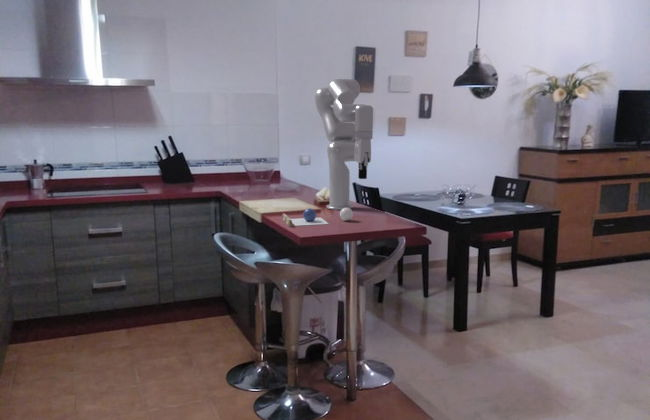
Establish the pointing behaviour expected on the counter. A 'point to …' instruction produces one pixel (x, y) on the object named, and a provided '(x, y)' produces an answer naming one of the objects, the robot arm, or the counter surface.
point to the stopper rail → (287, 220)
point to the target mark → (303, 222)
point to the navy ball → (309, 214)
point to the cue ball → (346, 214)
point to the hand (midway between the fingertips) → (362, 178)
